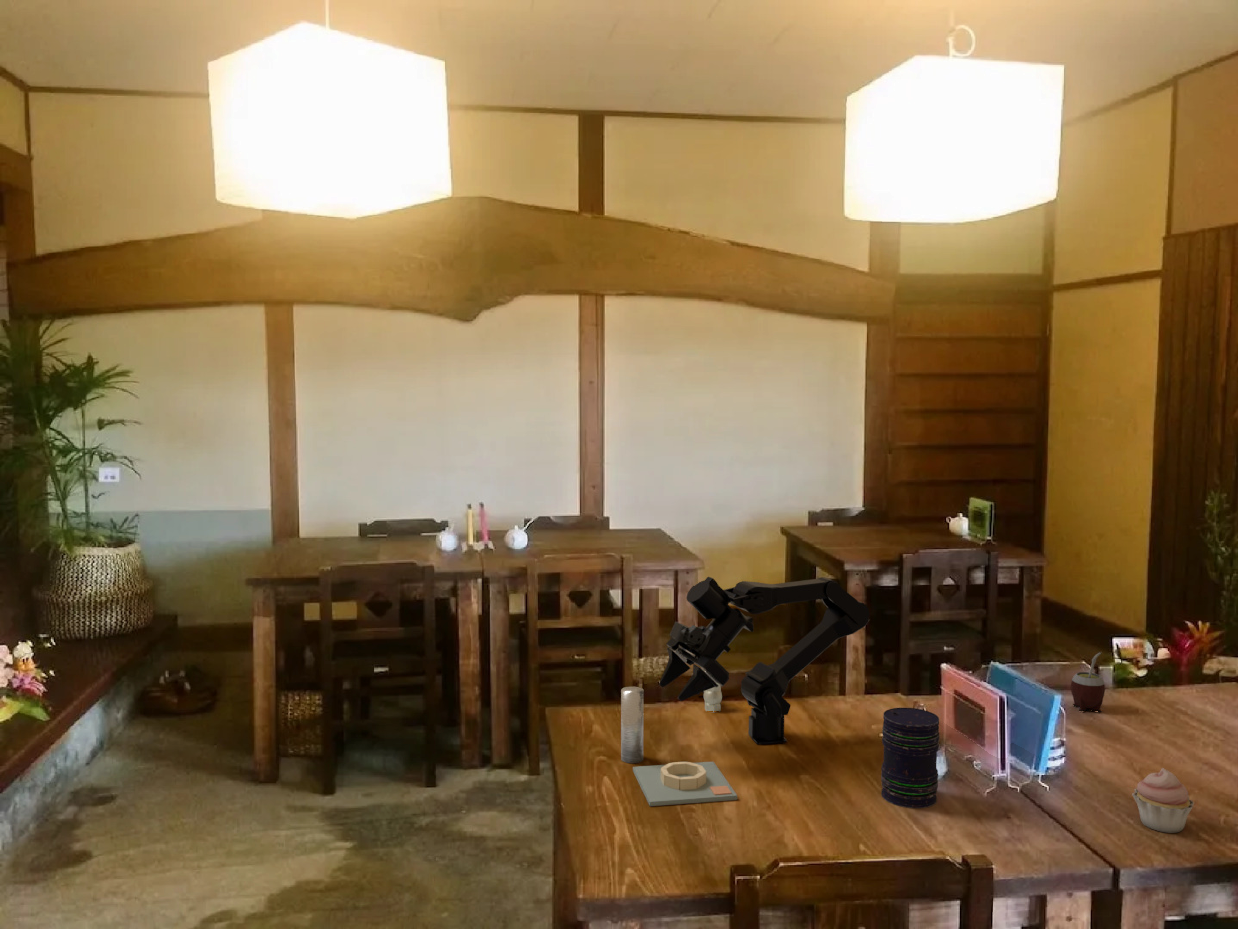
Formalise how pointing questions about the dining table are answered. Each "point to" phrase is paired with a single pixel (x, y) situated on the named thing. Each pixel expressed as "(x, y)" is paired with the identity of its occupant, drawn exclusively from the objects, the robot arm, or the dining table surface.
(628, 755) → the silver metal cylinder
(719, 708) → the valve
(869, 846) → the dining table surface
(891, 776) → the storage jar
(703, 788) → the socket board
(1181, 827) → the cupcake
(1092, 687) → the mate gourd
